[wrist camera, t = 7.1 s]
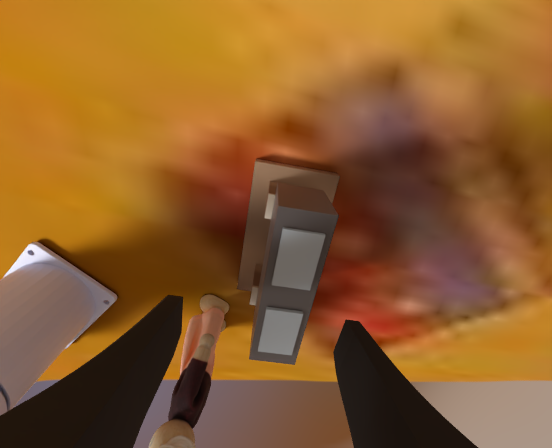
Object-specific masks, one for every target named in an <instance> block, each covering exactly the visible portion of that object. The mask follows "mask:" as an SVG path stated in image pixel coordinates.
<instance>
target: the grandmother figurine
mask: <svg viewBox="0 0 552 448" xmlns="http://www.w3.org/2000/svg"><path fill="white" fill-rule="evenodd" d="M200 308H201V310H202V311H203V314H201V315H196V316H194V317H192V318H191V319H190V321H189V325H188V328H187V332H186V336H185V340H184V346H183V353H182V359H181V368H180V378H179V380H178V382H177V384H176V386H175V388H174V391H173V394H172V401H171V407H170V411H169V416H168V418H169V421H168V422H166V423H164V424H163V425H162V426H161V427H159V428H158V430H157V431H156V432H155V434H154V435H153V437H152V439H151V441H150V444H149V448H195V445H194V443H195V438H194V433H193V430H192V429H193V428H194V426H195V425H196V424H197V422H198V419H199V417H200V415H201V412H202V410H203V408H204V406H205V403H206V400H207V397H208V393H209V390H210V386H211V376H212V372H213V366H214V359H215V347H216V343H217V341H218V338H219V335H220V332H222V331H223V330H224V329H225V327H226V322H225V321H224V315H225V314H226V313H227V312H228V310H229V304H228V303H227V302H225V301H223V300H222V299H220V298H218V297H216V296H214V295H209V294H208V295H205V296H203V297H202V298H201V300H200Z"/></svg>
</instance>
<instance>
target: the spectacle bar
mask: <svg viewBox="0 0 552 448" xmlns="http://www.w3.org/2000/svg"><path fill="white" fill-rule="evenodd" d="M338 216H339V215H338V214H337V212H336V210H335V209H334V207H333V205H332V203H331V202H330V200H329V198H328V197H327V195H326V193H325V192H324V190H319V189H313V188H307V187H301V186H295V185H290V184H284V183H277V189H276V194H275V200H274V205H273V211H272V216H271V222H270V227H269V233H268V238H267V244H266V249H265V255H264V260H263V266H262V271H261V277H260V283H259V288H258V294H257V299H256V305H255V310H254V319H253V328H252V338H251V347H250V357H249V359H251V360H259V361H268V362H276V363H284V364H293V365H295V362H296V358H297V355H298V352H299V348H300V345H301V342H302V338H303V335H304V331H305V328H306V325H307V321H308V318H309V314H310V311H311V308H312V304H313V301H314V298H315V294H316V291H317V287H318V284H319V281H320V277H321V274H322V271H323V267H324V264H325V260H326V257H327V254H328V250H329V247H330V244H331V240H332V237H333V233H334V230H335V227H336V223H337V220H338Z"/></svg>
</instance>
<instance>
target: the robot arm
mask: <svg viewBox="0 0 552 448" xmlns="http://www.w3.org/2000/svg"><path fill="white" fill-rule="evenodd" d="M107 300H108V301H107ZM116 300H117V295H116V294H115V293H113V292H112V291H110V290H109V289H107V288H106V287H104V286H103V285H101V284H100V283H98V282H97V281H95V280H94V279H92V278H91V277H90V276H88V275H87V274H85V273H84V272H82V271H81V270H79V269H78V268H76V267H75V266H73V265H72V264H70V263H69V262H67V261H66V260H64V259H63V258H61V257H60V256H58V255H57V254H55V253H54V252H52V251H51V250H50V249H48V248H47V247H45V246H44V245H42V244H41V243H39V242H32V243H31V244H29V245H28V246H27V248H26V249H25V250H24V251H23V253H22V254H21V255H20V257H19V258H18V259H17V260H16V262H15V263H14V264H13V266H12V267H11V268H10V269H9V271H8V272H7V273H6V275H5V276H4V277H3V278H2V279H1V280H0V448H133V446H134V444H135V441H136V438H137V436H138V433H139V430H140V427H141V425H142V423H143V420H144V418H145V416H146V413H147V411H148V409H149V407H150V405H151V403H152V401H153V398H154V396H155V394H156V392H157V390H158V388H159V386H160V383H161V381H162V379H163V377H164V375H165V373H166V371H167V369H168V366H169V364H170V362H171V360H172V358H173V355H174V352H175V350H176V347H177V344H178V341H179V338H180V335H181V330H182V309H183V297H180V296H173V295H168V296H166V297H165V298H164V299H163V300H162V301H161V302H160V303H159V304H158V305H157V306H156V307H154V308H153V309H152V310H151V311H150V312H149V313H148V314H147V315H146V316H145V317H144V318H142V319H141V320H140V321H139V322H138V323H137V324H135V325H134V326H133V327H132V328H131V329H130V330H128V331H127V332H126V333H125V334H124V335H122V336H121V337H120V338H119V339H117V340H116V341H115V342H114V343H112V344H111V345H110V346H108V347H107V348H106V349H105V350H103V351H102V352H101V353H99V354H98V355H97V356H95V357H94V358H92V359H91V360H90V361H88V362H87V363H85V364H84V365H82V366H81V367H80V368H78V369H77V370H75V371H74V372H72V373H71V374H69V375H67V376H66V377H64V378H63V379H61V380H60V381H58V382H57V383H55V384H54V385H52V386H50V387H49V388H47V389H45V390H44V391H42V392H41V393H39V394H38V395H36V396H34V397H32V398H31V399H29V400H27V401H25V402H23V403H22V404H20V405H18V406H16V407H14V406H15V405H16V403H17V402H18V401H19V400H20V399H21V398H22V397H23V395H24V394H25V393H26V392H27V391H28V390H29V389H30V387H31V386H32V385H33V384H34V383H35V382H36V381H37V380H38V378H39V377H40V376H41V375H42V374H43V373H44V372H45V370H46V369H47V368H48V367H49V366H50V365H51V364H52V363H53V361H54V360H55V359H56V358H57V357H58V356H59V355H60V353H61V352H62V351H63V350H64V349H66V348H68V347H69V346H70V345H71V344H72V343H73V342H74V341H75V340H76V339H77V338H78V337H79V336H80V335H81V334H82V333H83V332H84V331H85V330H86V329H87V328H88V327H89V326H90V325H91V324H92V323H93V322H95V321H96V320H97V319H98V318H99V317H100V316H101V315H102V314H103V313H104V312H105V311H106V310H107V309H108V308H109V307H110V306H111V305H112V304H113V303H114V302H115V301H116ZM334 361H335V368H336V375H337V380H338V384H339V388H340V392H341V396H342V400H343V404H344V408H345V412H346V416H347V420H348V424H349V428H350V432H351V436H352V441H353V445H354V448H478V447H477V446H476V445H474V444H473V443H472V442H471V441H470V440H469V439H467V438H466V437H465V436H464V435H463V434H462V433H461V432H460V431H458V430H457V429H456V428H455V427H454V426H453V425H452V424H451V423H449V421H447V420H446V419H445V418H444V417H443V416H442V415H441V414H440V413H439V412H438V411H437V410H436V409H435V408H434V407H433V406H432V405H431V404H430V403H429V402H428V401H427V400H426V399H425V398H424V397H423V396H422V395H421V394H420V393H419V392H418V391H417V390H416V389H415V388H414V387H413V385H412V384H411V383H410V382H409V381H408V380H407V379H406V378H405V377H404V376H403V374H402V373H401V372H400V371H399V370H398V369H397V367H396V366H395V365H394V364H393V363H392V362H391V360H390V359H389V358H388V357H387V356H386V354H385V353H384V352H383V351H382V349H381V348H380V347H379V346H378V344H377V343H376V342H375V341H374V339H373V338H372V337H371V336H370V334H369V333H368V332H367V331H366V329H365V328H364V327H363V326H362V324H361V323H360V322H359V321H353V320H345V323H344V326H343V328H342V331H341V333H340V336H339V339H338V341H337V344H336V346H335V349H334ZM13 407H14V408H13ZM12 408H13V409H12Z"/></svg>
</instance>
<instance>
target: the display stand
mask: <svg viewBox="0 0 552 448" xmlns="http://www.w3.org/2000/svg"><path fill="white" fill-rule="evenodd" d="M339 178H340V176H339V175H338V174H337V173H333V172H328V171H322V170H317V169H311V168H305V167H300V166H294V165H289V164H283V163H278V162H272V161H266V160H261V159H256V161H255V167H254V174H253V181H252V188H251V195H250V202H249V209H248V216H247V223H246V230H245V237H244V244H243V251H242V258H241V265H240V272H239V279H238V286H237V289H239V290H246V291H251V297H250V305H256V299H257V294H258V288H259V283H260V277H261V271H262V266H263V260H264V255H265V249H266V244H267V238H268V233H269V227H270V222H271V216H272V211H273V205H274V200H275V194H276V189H277V183H284V184H290V185H295V186H301V187H307V188H313V189H319V190H324V192H325V193H326V195H327V197H328V198H329V200H330V202H331V203H333V199H334V196H335V192H336V188H337V185H338V181H339Z"/></svg>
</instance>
